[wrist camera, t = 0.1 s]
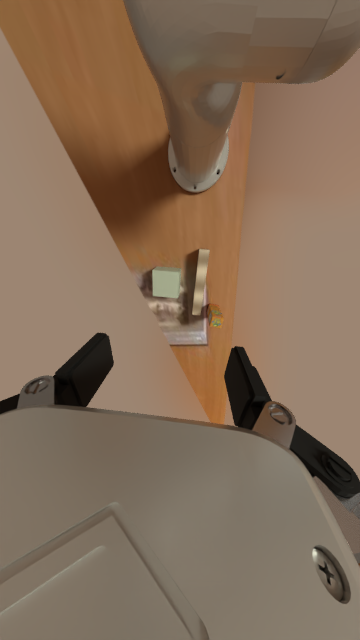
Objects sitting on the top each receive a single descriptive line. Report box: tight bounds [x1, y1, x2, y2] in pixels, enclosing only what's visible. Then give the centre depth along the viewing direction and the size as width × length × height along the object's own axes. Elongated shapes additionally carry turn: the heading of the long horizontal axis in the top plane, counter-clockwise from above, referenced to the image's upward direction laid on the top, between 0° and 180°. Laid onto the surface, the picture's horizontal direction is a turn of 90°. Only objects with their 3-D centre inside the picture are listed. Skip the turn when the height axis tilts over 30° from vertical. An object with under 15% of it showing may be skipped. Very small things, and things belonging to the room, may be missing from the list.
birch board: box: [192, 249, 210, 315], centre depth 43 cm, size 18×2×4 cm, turn 176°
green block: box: [152, 267, 181, 298], centre depth 43 cm, size 7×7×6 cm
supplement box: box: [207, 304, 224, 328], centre depth 44 cm, size 3×3×10 cm
